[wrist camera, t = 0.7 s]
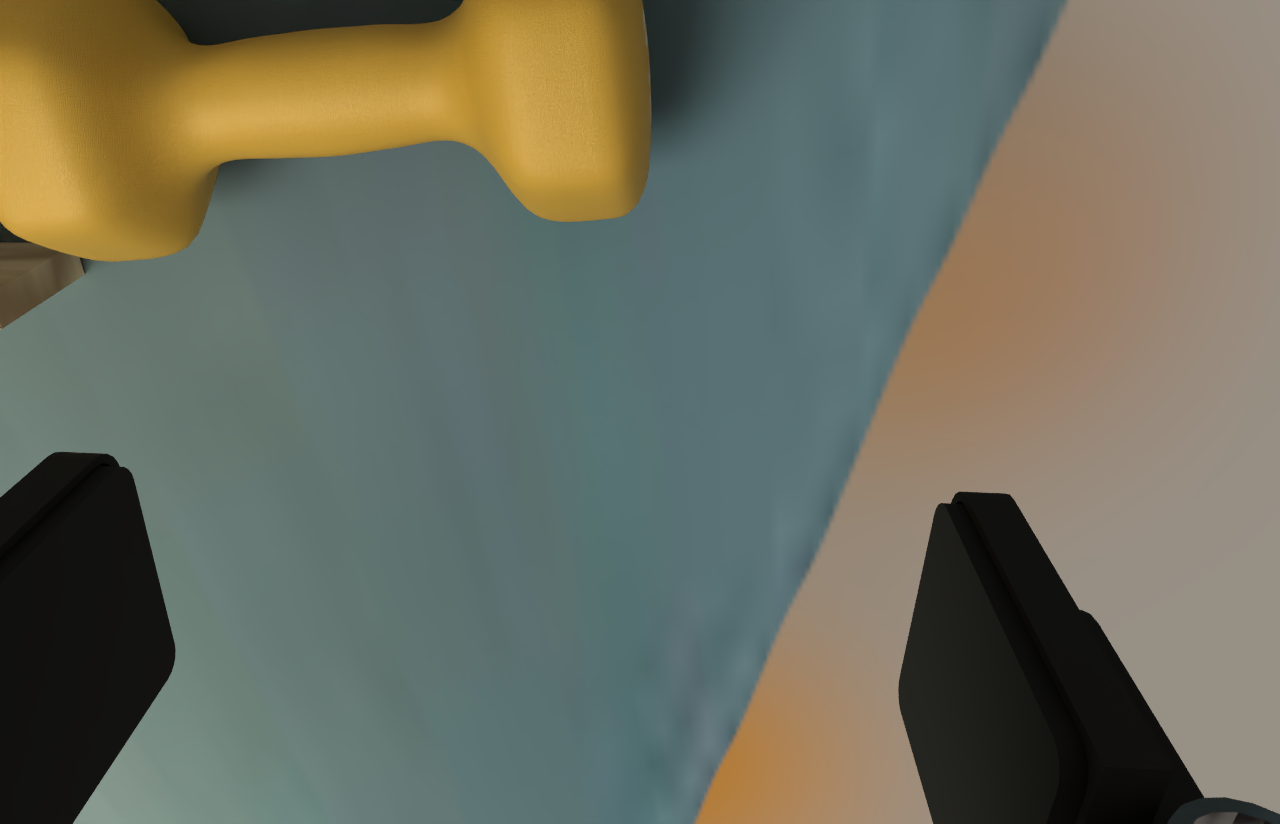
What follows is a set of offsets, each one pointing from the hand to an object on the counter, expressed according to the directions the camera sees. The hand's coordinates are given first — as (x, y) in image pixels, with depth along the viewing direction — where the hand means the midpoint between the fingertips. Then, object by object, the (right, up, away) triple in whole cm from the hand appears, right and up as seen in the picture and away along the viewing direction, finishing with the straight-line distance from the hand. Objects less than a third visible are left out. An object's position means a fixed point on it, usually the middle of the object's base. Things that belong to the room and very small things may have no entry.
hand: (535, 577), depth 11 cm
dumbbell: (-8, +13, +21) cm, 26 cm away
